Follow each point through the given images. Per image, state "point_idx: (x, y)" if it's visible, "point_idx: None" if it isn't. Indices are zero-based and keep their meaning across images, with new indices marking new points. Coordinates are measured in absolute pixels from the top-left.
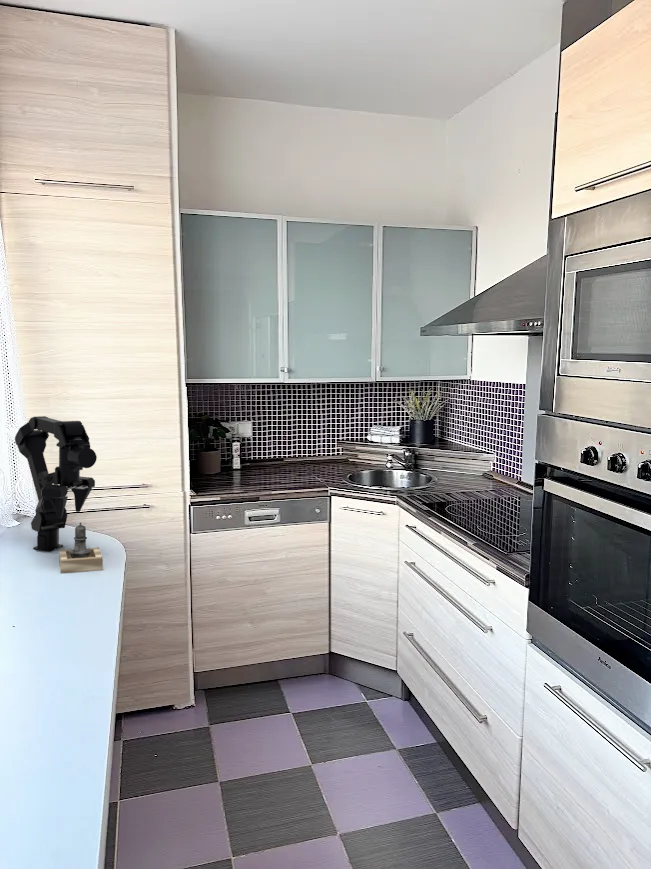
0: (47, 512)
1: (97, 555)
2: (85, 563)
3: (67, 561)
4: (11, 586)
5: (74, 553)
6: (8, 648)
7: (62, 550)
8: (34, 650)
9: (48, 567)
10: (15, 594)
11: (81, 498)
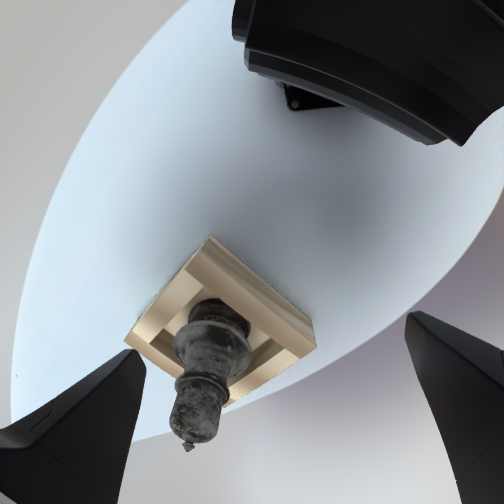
0: (264, 53)
1: (235, 389)
2: None
3: (140, 350)
4: (31, 280)
5: (175, 355)
6: (11, 391)
7: (203, 267)
8: (27, 409)
9: (146, 250)
10: (28, 316)
11: (458, 444)
